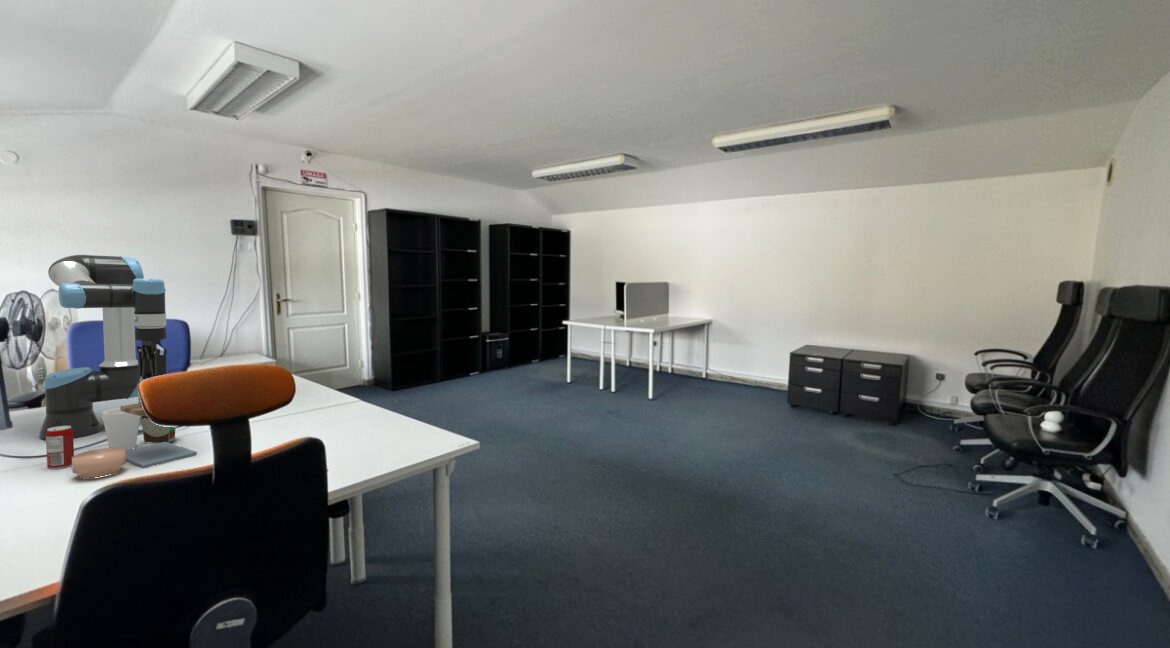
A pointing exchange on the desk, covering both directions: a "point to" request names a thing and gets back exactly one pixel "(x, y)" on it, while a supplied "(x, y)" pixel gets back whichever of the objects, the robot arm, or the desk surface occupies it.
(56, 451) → the soda can
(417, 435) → the desk surface
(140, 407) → the lid
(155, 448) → the mat
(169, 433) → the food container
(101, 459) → the bowl
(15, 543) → the desk surface
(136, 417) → the foam cup
